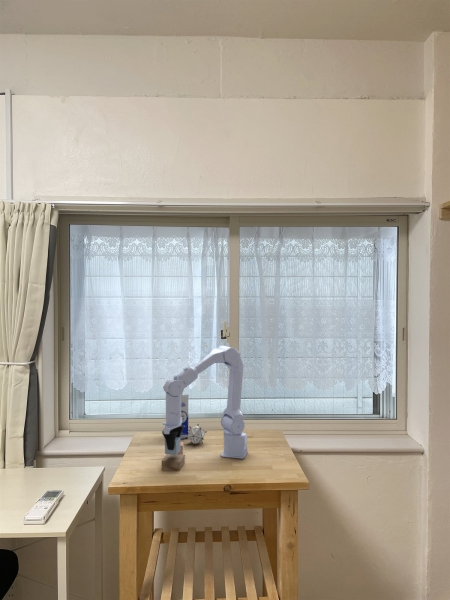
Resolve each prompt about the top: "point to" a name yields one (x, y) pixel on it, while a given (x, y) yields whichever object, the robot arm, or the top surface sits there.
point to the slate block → (176, 447)
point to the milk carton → (184, 415)
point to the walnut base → (173, 462)
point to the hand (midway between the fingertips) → (173, 447)
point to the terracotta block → (181, 448)
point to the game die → (196, 434)
